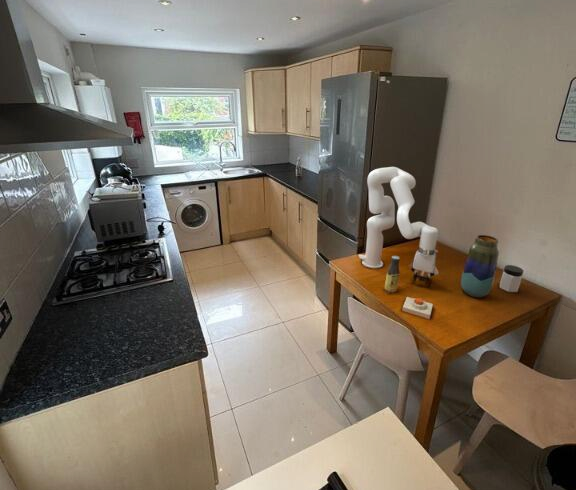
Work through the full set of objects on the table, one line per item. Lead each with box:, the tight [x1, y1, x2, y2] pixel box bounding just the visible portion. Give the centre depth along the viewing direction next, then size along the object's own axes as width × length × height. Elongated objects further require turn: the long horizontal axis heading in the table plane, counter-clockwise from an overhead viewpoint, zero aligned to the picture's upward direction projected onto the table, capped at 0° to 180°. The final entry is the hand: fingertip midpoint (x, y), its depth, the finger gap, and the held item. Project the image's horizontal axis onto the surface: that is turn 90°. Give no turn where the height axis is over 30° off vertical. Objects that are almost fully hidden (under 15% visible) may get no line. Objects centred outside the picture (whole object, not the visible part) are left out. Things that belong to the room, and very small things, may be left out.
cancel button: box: [415, 297, 424, 305], centre depth 143 cm, size 4×4×2 cm
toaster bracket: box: [416, 270, 428, 284], centre depth 166 cm, size 10×8×12 cm
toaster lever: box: [416, 271, 427, 280], centre depth 162 cm, size 11×5×2 cm, turn 149°
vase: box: [460, 234, 500, 298], centre depth 153 cm, size 14×14×31 cm
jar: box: [499, 264, 524, 293], centre depth 160 cm, size 9×8×12 cm
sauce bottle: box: [384, 255, 401, 295], centre depth 156 cm, size 7×6×20 cm
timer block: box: [402, 296, 434, 320], centre depth 144 cm, size 12×10×4 cm
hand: (420, 281), depth 160 cm, fingers closed on toaster lever, 5 cm apart
